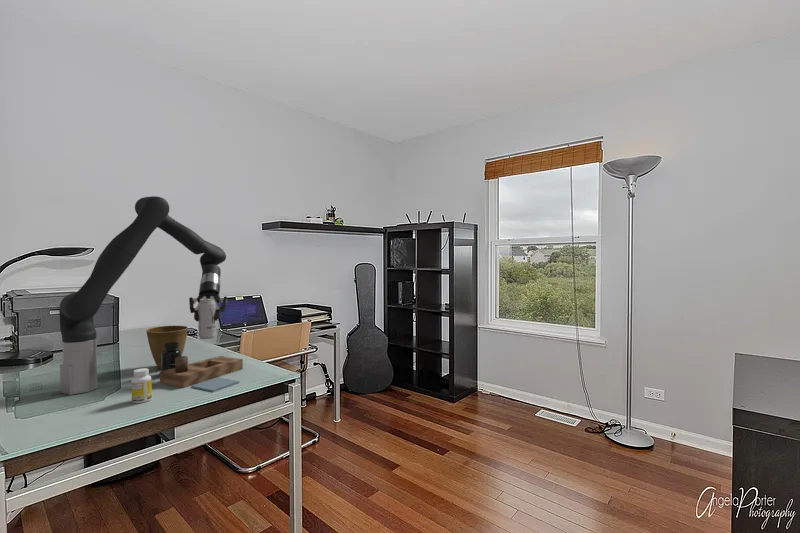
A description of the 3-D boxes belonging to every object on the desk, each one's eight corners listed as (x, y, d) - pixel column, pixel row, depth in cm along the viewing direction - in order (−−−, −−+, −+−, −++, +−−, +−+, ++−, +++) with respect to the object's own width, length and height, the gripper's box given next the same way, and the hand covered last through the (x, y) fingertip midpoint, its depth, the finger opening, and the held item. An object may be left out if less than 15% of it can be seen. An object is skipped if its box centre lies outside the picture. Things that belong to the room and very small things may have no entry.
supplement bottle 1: (148, 396, 133) (147, 366, 133) (154, 400, 130) (154, 369, 129) (129, 401, 129) (128, 370, 129) (135, 404, 125) (134, 373, 125)
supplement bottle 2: (172, 377, 154) (172, 345, 154) (157, 376, 156) (156, 344, 155) (185, 372, 161) (185, 341, 161) (170, 371, 162) (170, 341, 162)
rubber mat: (213, 392, 137) (213, 390, 137) (191, 387, 142) (191, 385, 142) (239, 382, 147) (239, 381, 147) (217, 378, 152) (217, 377, 152)
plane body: (183, 387, 142) (183, 362, 141) (159, 382, 147) (159, 358, 147) (242, 369, 165) (242, 347, 165) (220, 365, 171) (219, 344, 170)
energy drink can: (211, 339, 154) (210, 300, 154) (195, 339, 155) (195, 300, 154) (218, 336, 161) (218, 298, 160) (203, 336, 161) (203, 298, 160)
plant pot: (138, 370, 164) (137, 330, 163) (169, 361, 178) (169, 324, 178) (166, 373, 159) (165, 332, 159) (196, 363, 173) (196, 326, 173)
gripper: (189, 280, 162) (184, 314, 151) (228, 280, 166) (226, 313, 155) (191, 292, 167) (186, 326, 156) (229, 292, 172) (227, 324, 161)
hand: (206, 319), depth 156 cm, fingers closed on energy drink can, 6 cm apart
